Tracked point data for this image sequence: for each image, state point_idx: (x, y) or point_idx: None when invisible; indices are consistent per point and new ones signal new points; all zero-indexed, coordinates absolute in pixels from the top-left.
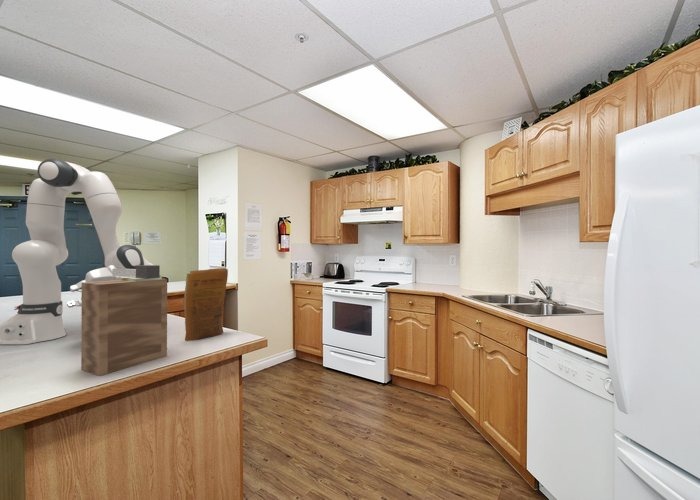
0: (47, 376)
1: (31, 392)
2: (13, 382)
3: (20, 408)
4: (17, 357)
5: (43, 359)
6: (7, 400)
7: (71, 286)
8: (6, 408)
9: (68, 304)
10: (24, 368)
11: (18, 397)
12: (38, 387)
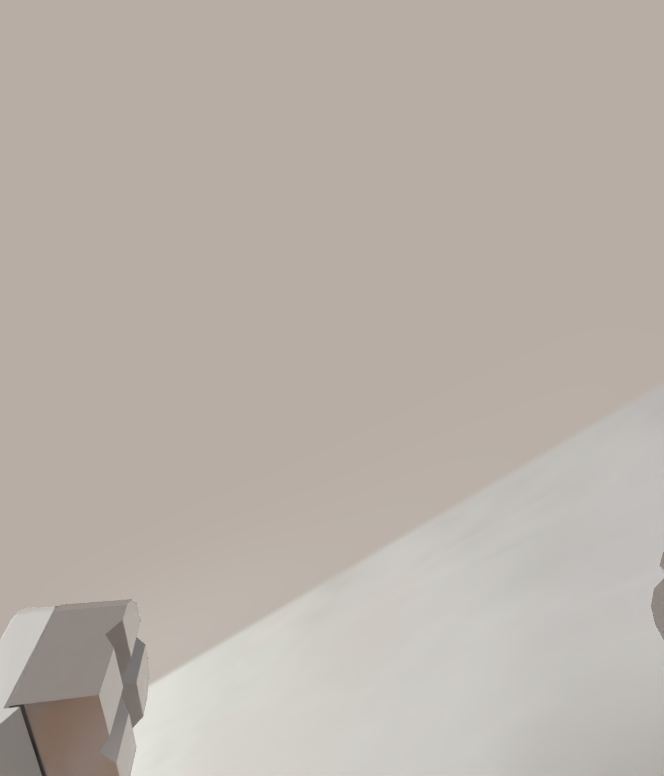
0: (243, 762)
1: (140, 751)
2: (254, 644)
3: None
4: (640, 451)
5: (532, 636)
6: None
7: (22, 634)
8: None
9: (654, 590)
10: (400, 604)
11: None
12: (162, 761)
